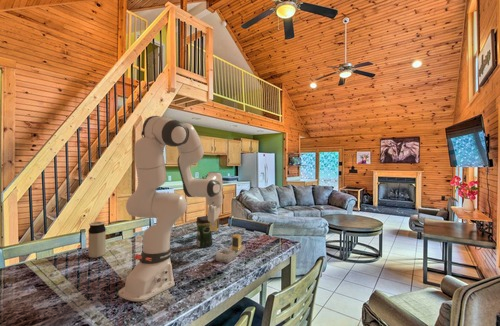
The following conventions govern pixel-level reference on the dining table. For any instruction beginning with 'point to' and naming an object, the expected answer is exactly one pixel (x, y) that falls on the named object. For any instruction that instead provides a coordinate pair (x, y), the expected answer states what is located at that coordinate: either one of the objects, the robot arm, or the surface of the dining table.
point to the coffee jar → (203, 232)
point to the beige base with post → (231, 250)
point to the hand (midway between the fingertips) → (214, 225)
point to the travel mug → (97, 239)
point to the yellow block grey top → (215, 225)
